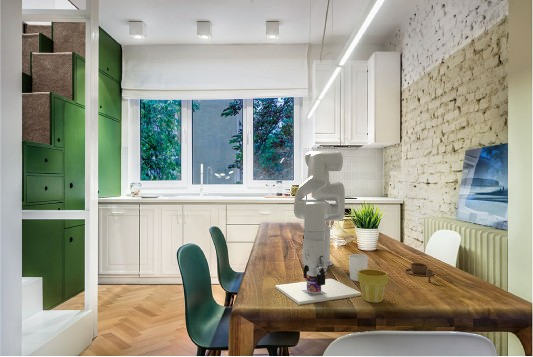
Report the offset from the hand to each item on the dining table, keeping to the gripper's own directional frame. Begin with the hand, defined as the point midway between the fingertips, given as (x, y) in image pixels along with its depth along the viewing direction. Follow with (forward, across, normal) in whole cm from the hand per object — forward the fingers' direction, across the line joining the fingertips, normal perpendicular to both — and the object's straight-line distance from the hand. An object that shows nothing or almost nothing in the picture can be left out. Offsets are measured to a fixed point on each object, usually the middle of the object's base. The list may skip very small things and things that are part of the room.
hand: (314, 281), depth 131 cm
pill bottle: (+4, 0, 0) cm, 4 cm away
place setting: (+6, -6, +56) cm, 57 cm away
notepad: (+5, -3, +3) cm, 6 cm away
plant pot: (+5, +12, +17) cm, 21 cm away
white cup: (+5, -11, +28) cm, 30 cm away
